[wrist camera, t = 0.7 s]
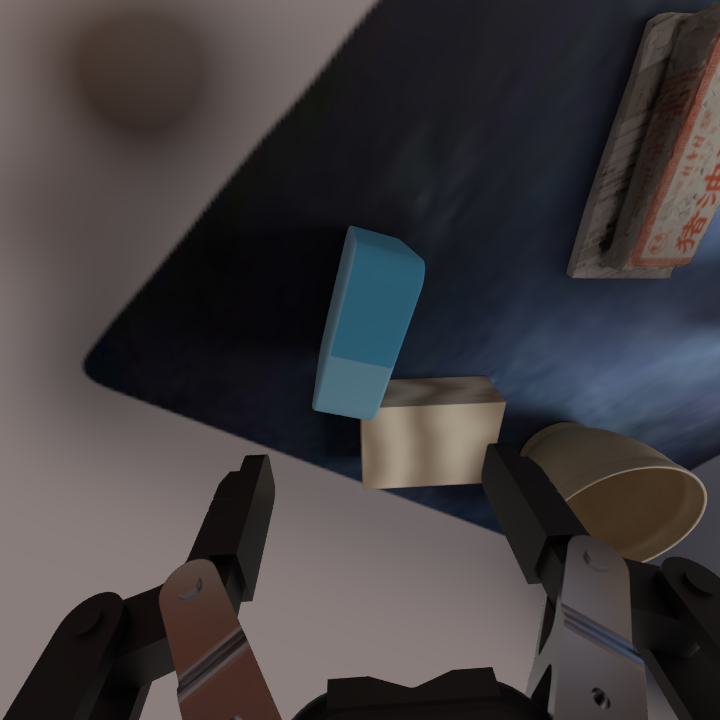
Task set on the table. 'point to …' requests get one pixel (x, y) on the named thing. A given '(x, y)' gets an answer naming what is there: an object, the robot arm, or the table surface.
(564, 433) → the planter bowl
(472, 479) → the stand
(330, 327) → the blue product box
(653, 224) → the packaged product
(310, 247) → the table surface
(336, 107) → the table surface
